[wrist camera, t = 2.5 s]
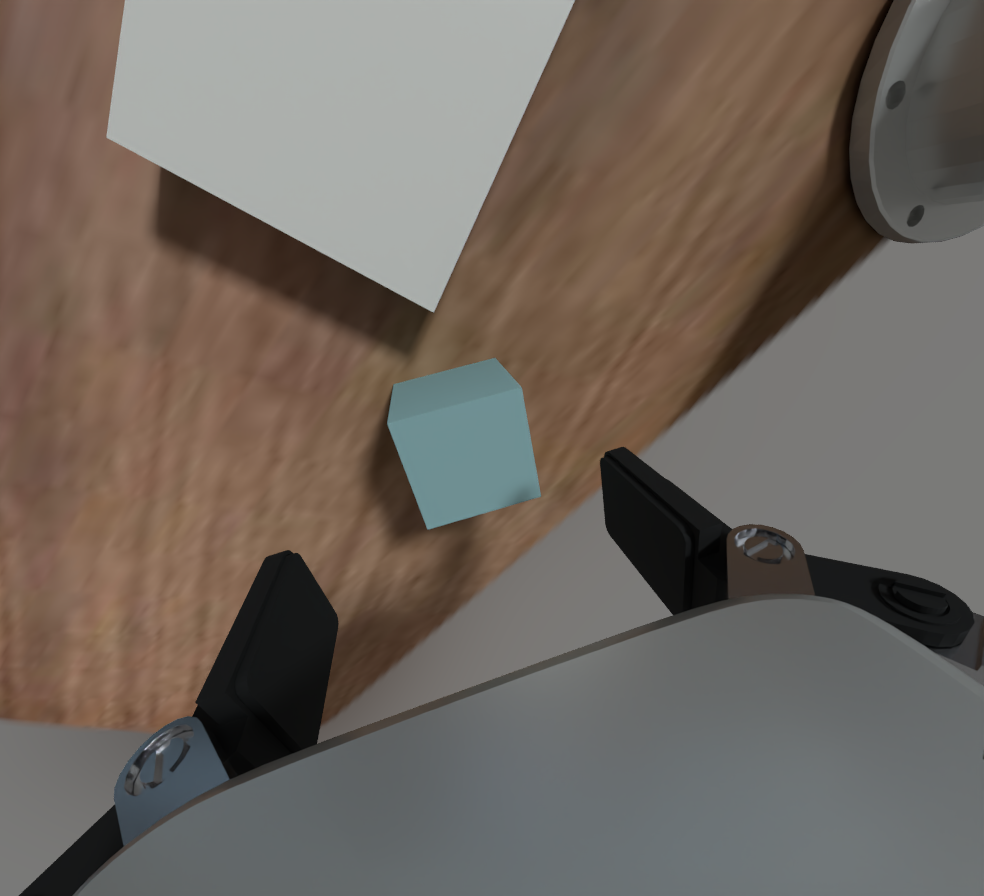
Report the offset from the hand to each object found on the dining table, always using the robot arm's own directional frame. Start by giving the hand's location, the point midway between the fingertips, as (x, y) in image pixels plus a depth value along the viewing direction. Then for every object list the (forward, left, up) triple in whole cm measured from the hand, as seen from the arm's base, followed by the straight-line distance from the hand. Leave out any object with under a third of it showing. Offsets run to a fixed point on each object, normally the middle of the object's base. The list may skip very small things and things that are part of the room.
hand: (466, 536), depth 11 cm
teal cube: (-1, 0, -9) cm, 9 cm away
